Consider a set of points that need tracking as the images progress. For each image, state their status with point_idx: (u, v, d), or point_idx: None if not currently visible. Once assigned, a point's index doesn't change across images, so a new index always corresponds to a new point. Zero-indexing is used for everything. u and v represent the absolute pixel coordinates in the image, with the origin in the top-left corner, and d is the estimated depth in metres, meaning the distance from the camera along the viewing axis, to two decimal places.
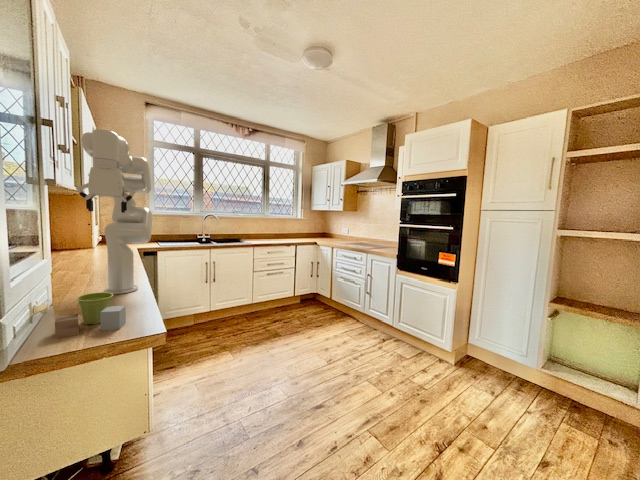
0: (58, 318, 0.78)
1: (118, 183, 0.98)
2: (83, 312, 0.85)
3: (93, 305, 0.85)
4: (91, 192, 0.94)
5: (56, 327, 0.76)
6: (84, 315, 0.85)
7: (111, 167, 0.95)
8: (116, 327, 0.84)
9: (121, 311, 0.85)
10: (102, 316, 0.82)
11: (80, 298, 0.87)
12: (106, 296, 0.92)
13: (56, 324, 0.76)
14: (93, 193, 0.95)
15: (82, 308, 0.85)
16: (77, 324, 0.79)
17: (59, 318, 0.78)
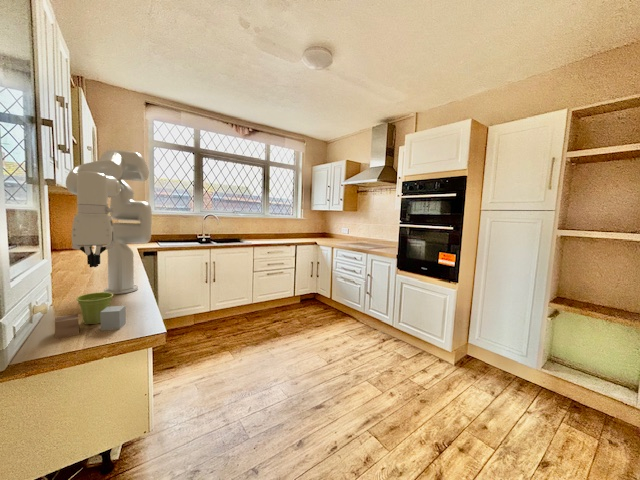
0: (58, 318, 0.78)
1: (106, 230, 0.86)
2: (83, 312, 0.85)
3: (93, 305, 0.85)
4: (75, 243, 0.83)
5: (56, 327, 0.76)
6: (84, 315, 0.85)
7: (98, 213, 0.84)
8: (116, 327, 0.84)
9: (120, 311, 0.85)
10: (102, 316, 0.82)
11: (80, 298, 0.87)
12: (106, 296, 0.92)
13: (56, 324, 0.76)
14: (77, 244, 0.83)
15: (82, 308, 0.85)
16: (77, 324, 0.79)
17: (59, 318, 0.78)
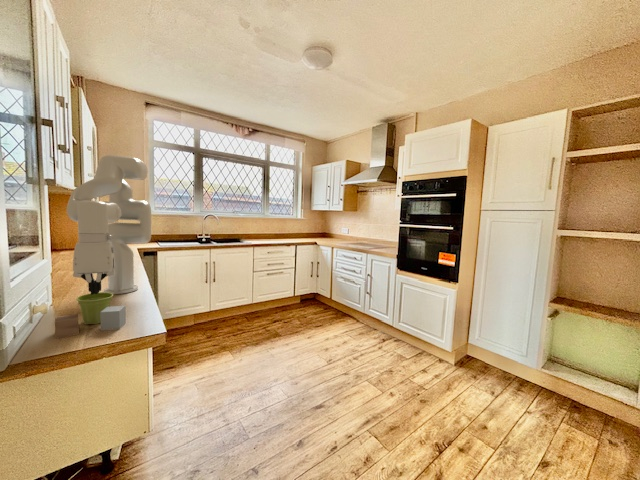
0: (58, 318, 0.78)
1: (107, 258, 0.87)
2: (83, 312, 0.85)
3: (93, 305, 0.85)
4: (76, 271, 0.84)
5: (56, 327, 0.76)
6: (84, 315, 0.85)
7: (99, 242, 0.85)
8: (116, 327, 0.84)
9: (121, 311, 0.85)
10: (102, 316, 0.82)
11: (80, 298, 0.87)
12: (106, 296, 0.92)
13: (56, 324, 0.76)
14: (78, 272, 0.84)
15: (82, 308, 0.85)
16: (77, 324, 0.79)
17: (59, 318, 0.78)
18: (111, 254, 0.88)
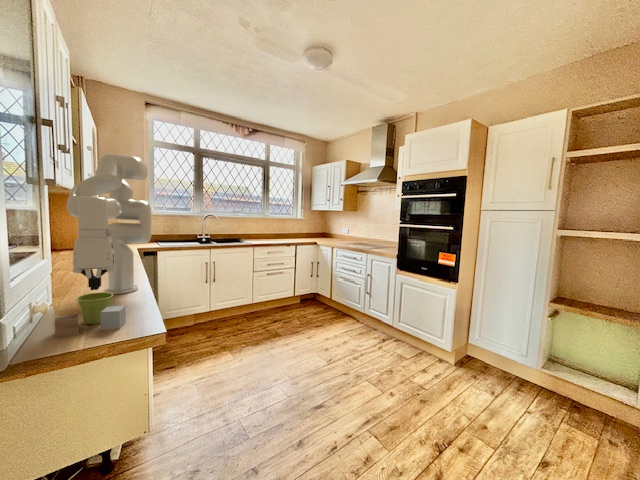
0: (58, 318, 0.78)
1: (107, 254, 0.87)
2: (83, 312, 0.85)
3: (93, 305, 0.85)
4: (76, 267, 0.84)
5: (56, 327, 0.76)
6: (84, 315, 0.85)
7: (99, 238, 0.85)
8: (116, 327, 0.84)
9: (121, 311, 0.85)
10: (102, 316, 0.82)
11: (80, 298, 0.87)
12: (106, 296, 0.92)
13: (56, 324, 0.76)
14: (78, 268, 0.84)
15: (82, 308, 0.85)
16: (77, 324, 0.79)
17: (59, 318, 0.78)
18: (111, 250, 0.88)
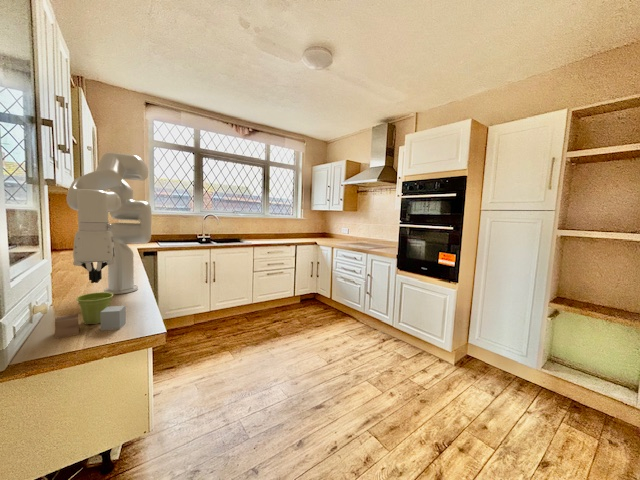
0: (58, 318, 0.78)
1: (107, 247, 0.87)
2: (83, 312, 0.85)
3: (93, 305, 0.85)
4: (76, 260, 0.84)
5: (56, 327, 0.76)
6: (84, 315, 0.85)
7: (99, 231, 0.85)
8: (116, 327, 0.84)
9: (121, 311, 0.85)
10: (102, 316, 0.82)
11: (80, 298, 0.87)
12: (106, 296, 0.92)
13: (56, 324, 0.76)
14: (79, 260, 0.84)
15: (82, 308, 0.85)
16: (77, 324, 0.79)
17: (59, 318, 0.78)
18: (111, 243, 0.88)
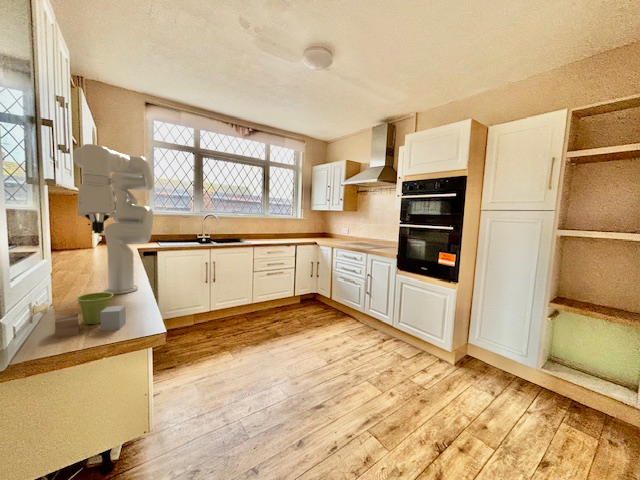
0: (58, 318, 0.78)
1: (109, 200, 0.94)
2: (83, 312, 0.85)
3: (93, 305, 0.85)
4: (81, 210, 0.90)
5: (56, 327, 0.76)
6: (84, 315, 0.85)
7: (102, 183, 0.91)
8: (116, 327, 0.84)
9: (121, 311, 0.85)
10: (102, 316, 0.82)
11: (80, 298, 0.87)
12: (106, 296, 0.92)
13: (56, 324, 0.76)
14: (83, 211, 0.91)
15: (82, 308, 0.85)
16: (77, 324, 0.79)
17: (59, 318, 0.78)
18: (113, 197, 0.95)
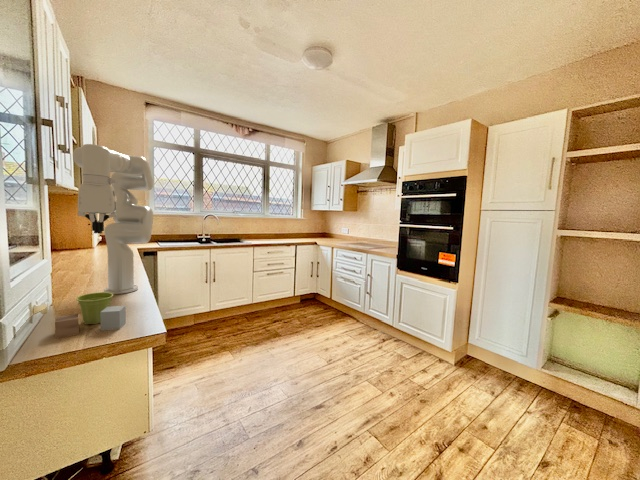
0: (58, 318, 0.78)
1: (109, 200, 0.94)
2: (83, 312, 0.85)
3: (93, 305, 0.85)
4: (81, 210, 0.90)
5: (56, 327, 0.76)
6: (84, 315, 0.85)
7: (101, 183, 0.92)
8: (116, 327, 0.84)
9: (121, 311, 0.85)
10: (102, 316, 0.82)
11: (80, 298, 0.87)
12: (106, 296, 0.92)
13: (56, 324, 0.76)
14: (83, 211, 0.91)
15: (82, 308, 0.85)
16: (77, 324, 0.79)
17: (59, 318, 0.78)
18: (113, 197, 0.95)
